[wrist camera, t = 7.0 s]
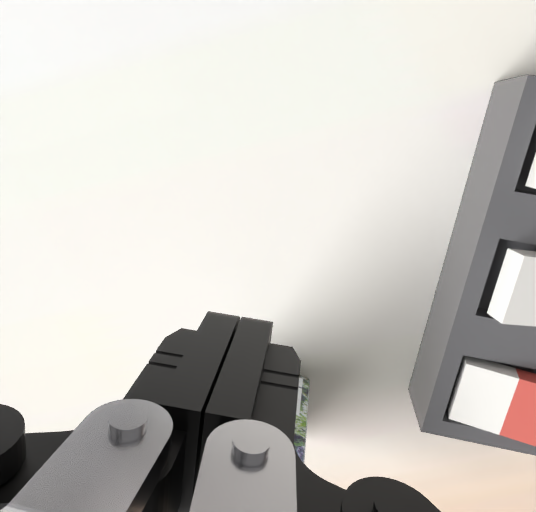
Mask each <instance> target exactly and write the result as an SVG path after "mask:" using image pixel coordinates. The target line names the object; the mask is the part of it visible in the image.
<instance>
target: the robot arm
mask: <svg viewBox="0 0 536 512" xmlns="http://www.w3.org/2000/svg"><path fill="white" fill-rule="evenodd" d="M272 327H273V322H270V321H264V320H258V319H252V318H246V317H242V318H241V320H240V317H239V316H233V315H227V314H222V313H216V312H210V311H208V312H207V314H206V316H205V318H204V319H203V321H202V323H201V325H200V327H199V328H198V330H197V331H195V330H189V329H183V328H181V329H179V330H178V331H176V332H174V333H172V334H171V335H169V336H167V337H165V339H164V340H163V341H162V343H161V344H160V346H159V347H158V349H157V350H156V353H154V355H153V356H152V358H151V359H150V360H149V364H147V365H146V366H145V368H144V369H143V371H142V372H141V374H140V375H139V377H138V378H137V380H136V381H135V382H134V384H133V385H132V387H131V388H130V390H129V391H128V393H127V394H126V396H125V397H124V399H123V400H117V401H113V402H109V403H107V404H104V405H102V406H100V407H98V408H96V409H95V410H94V411H92V412H91V413H90V414H89V415H88V416H87V417H86V418H85V419H84V420H83V421H82V422H81V423H80V424H79V426H78V427H77V428H76V429H75V430H71V431H62V432H44V433H25V423H24V418H23V416H22V415H21V414H20V413H19V411H17V410H16V409H14V408H12V407H9V406H6V405H2V404H0V512H441V511H440V510H439V509H437V508H436V507H435V506H434V505H433V504H432V503H431V502H430V501H429V500H428V499H427V498H426V497H424V496H423V495H422V494H421V493H420V492H418V491H417V490H415V489H414V488H412V487H410V486H408V485H406V484H404V483H402V482H399V481H397V480H394V479H390V478H385V477H367V478H363V479H360V480H357V481H356V482H354V483H352V484H351V485H350V486H349V487H348V489H347V490H345V489H343V488H341V487H338V486H336V485H334V484H332V483H330V482H328V481H326V480H324V479H322V478H320V477H319V476H317V475H316V474H315V473H313V472H312V471H311V470H310V469H309V468H307V467H306V465H305V464H304V463H303V462H302V461H301V459H300V458H299V456H298V454H297V452H296V449H295V445H294V433H295V421H296V410H297V398H298V386H299V374H300V362H301V361H300V359H299V357H298V356H297V354H296V352H295V351H294V349H293V347H289V346H283V345H277V344H271V343H270V341H271V334H272Z"/></svg>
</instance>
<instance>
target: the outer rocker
mask: <svg viewBox="0 0 536 512" xmlns="http://www.w3.org/2000/svg"><path fill="white" fill-rule="evenodd" d="M448 415H449V419H451V420H454V421H457V422H460V423H463V424H467V425H470V426H473V427H476V428H479V429H482V430H485V431H489V432H492V433H495V434H498V435H501V436H504V437H507V438H511V439H514V440H517V441H520V442H523V443H526V444H529V445H533V446H536V374H535V373H531V372H528V371H524V370H520V369H517V368H513V367H510V366H506V365H503V364H499V363H495V362H492V361H488V360H485V359H480V358H475V357H469V356H464V358H463V361H462V364H461V367H460V371H459V374H458V377H457V380H456V383H455V386H454V390H453V393H452V396H451V399H450V402H449V405H448Z"/></svg>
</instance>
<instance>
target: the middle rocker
mask: <svg viewBox="0 0 536 512" xmlns="http://www.w3.org/2000/svg"><path fill="white" fill-rule="evenodd" d="M487 314H489V315H490V316H492V317H493V318H494V319H496V320H497V321H499V322H500V323H501V324H509V325H523V326H536V251H527V250H519V249H510V248H508V249H507V252H506V255H505V258H504V261H503V264H502V268H501V271H500V274H499V277H498V280H497V283H496V286H495V289H494V292H493V296H492V299H491V302H490V305H489V308H488V311H487Z"/></svg>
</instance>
